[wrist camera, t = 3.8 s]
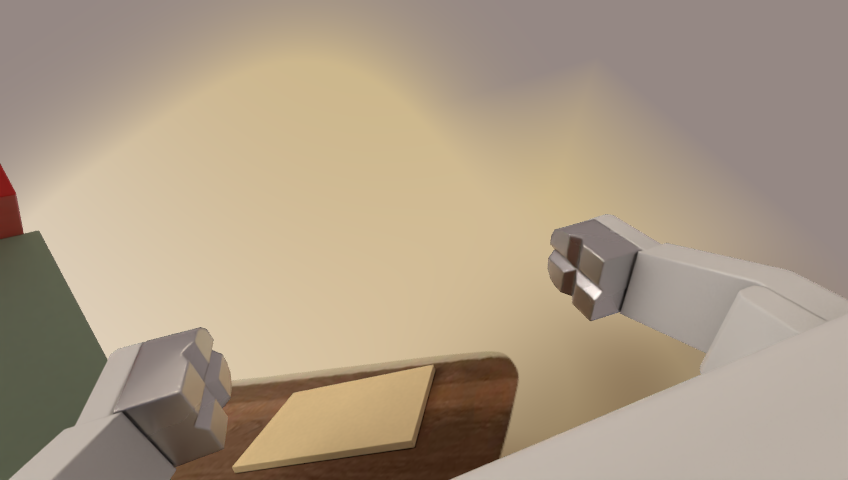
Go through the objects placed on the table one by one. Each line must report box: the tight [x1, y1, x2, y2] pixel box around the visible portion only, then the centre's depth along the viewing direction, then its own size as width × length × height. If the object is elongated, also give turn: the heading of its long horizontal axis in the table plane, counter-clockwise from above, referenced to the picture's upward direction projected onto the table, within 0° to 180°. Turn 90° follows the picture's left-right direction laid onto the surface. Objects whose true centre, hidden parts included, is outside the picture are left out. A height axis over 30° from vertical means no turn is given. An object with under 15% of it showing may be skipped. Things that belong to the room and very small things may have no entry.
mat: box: [232, 365, 435, 473], centre depth 41 cm, size 20×12×1 cm, turn 79°
